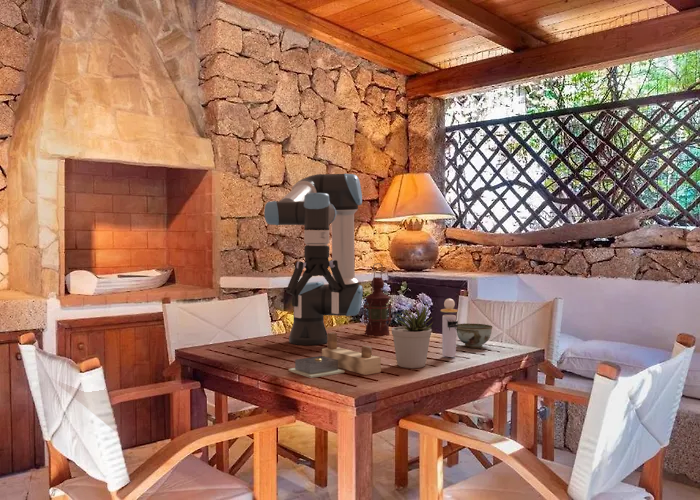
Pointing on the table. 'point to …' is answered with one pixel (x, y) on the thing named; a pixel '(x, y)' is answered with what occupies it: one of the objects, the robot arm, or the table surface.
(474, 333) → the bowl
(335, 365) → the grey block with knob
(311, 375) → the felt pad
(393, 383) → the table surface
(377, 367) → the body
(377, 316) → the lantern
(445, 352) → the perfume bottle
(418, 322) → the potted plant
